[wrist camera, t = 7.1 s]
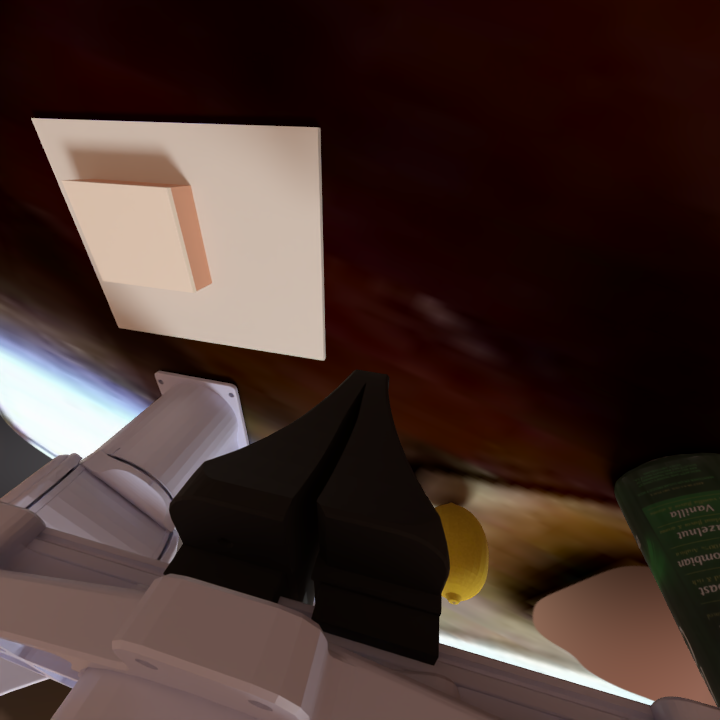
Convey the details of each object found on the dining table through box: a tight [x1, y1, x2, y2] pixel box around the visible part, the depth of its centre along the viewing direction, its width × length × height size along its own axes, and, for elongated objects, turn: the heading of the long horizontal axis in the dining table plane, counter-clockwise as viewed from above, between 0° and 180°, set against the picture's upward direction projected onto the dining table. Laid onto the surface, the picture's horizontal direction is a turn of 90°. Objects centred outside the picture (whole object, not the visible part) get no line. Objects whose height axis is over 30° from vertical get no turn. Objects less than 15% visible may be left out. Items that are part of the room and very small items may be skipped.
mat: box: [31, 118, 326, 361], centre depth 21 cm, size 14×18×1 cm
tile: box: [61, 179, 212, 293], centre depth 20 cm, size 6×2×7 cm
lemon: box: [435, 503, 489, 604], centre depth 26 cm, size 6×6×8 cm
